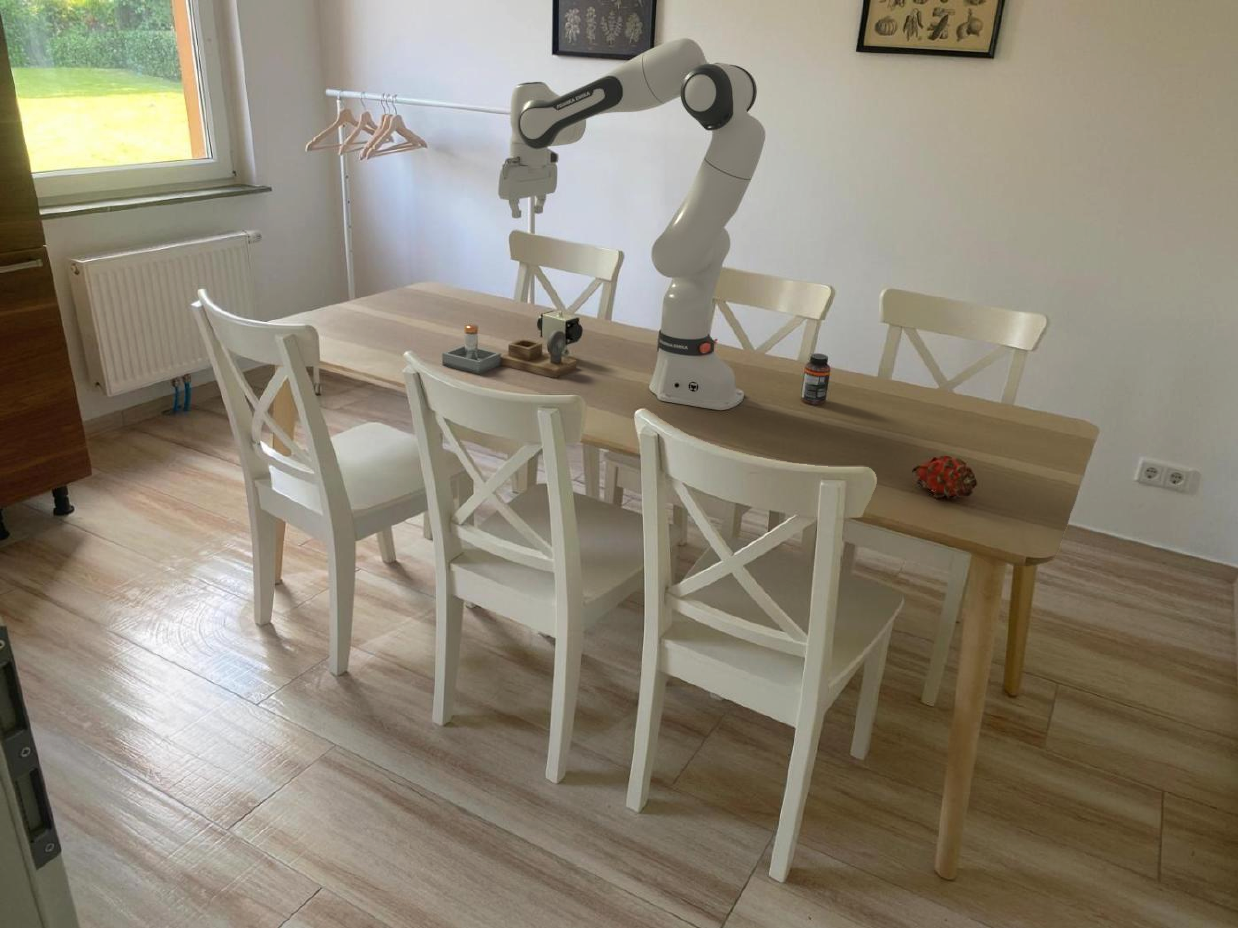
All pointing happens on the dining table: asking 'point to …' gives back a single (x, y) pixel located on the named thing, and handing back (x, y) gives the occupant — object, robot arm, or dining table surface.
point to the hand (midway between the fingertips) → (527, 215)
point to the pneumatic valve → (560, 327)
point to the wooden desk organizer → (540, 356)
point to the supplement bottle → (815, 380)
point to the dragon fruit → (946, 477)
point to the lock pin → (471, 342)
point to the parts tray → (471, 360)
